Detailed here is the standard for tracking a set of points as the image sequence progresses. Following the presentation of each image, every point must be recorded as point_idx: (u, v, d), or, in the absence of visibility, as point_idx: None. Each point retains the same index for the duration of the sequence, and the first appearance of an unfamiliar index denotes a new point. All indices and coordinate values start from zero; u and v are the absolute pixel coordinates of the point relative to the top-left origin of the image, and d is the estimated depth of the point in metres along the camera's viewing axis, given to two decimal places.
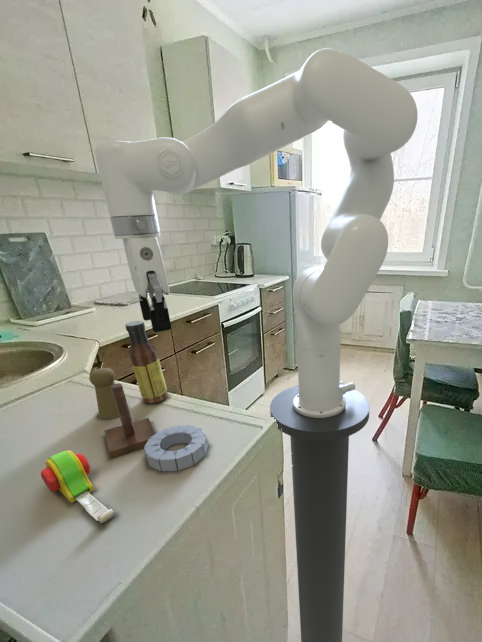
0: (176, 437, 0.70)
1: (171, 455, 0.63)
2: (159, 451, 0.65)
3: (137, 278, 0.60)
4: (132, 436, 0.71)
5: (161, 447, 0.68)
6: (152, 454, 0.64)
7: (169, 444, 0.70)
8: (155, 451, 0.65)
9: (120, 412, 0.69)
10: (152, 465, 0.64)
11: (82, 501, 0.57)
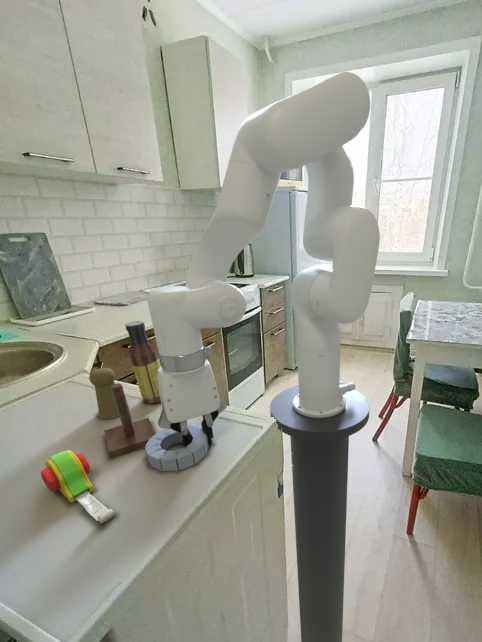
0: (177, 437, 0.71)
1: (172, 455, 0.63)
2: (160, 451, 0.65)
3: (214, 396, 0.66)
4: (132, 436, 0.71)
5: (162, 447, 0.68)
6: (153, 454, 0.64)
7: (170, 444, 0.70)
8: (156, 451, 0.65)
9: (120, 412, 0.69)
10: (153, 465, 0.64)
11: (82, 501, 0.57)
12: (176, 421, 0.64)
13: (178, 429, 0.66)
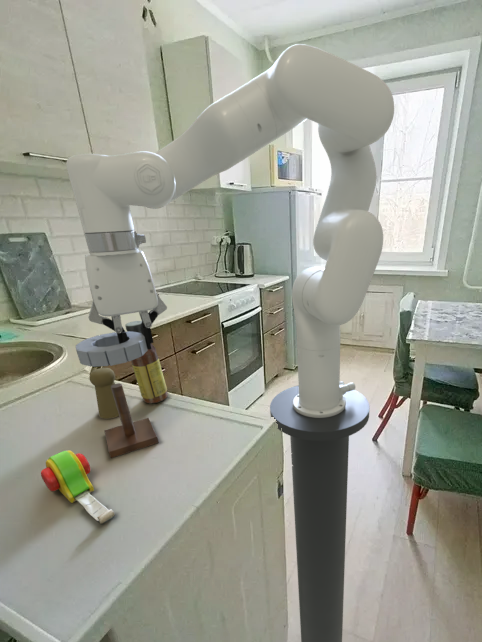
0: (114, 342, 0.66)
1: (102, 349, 0.59)
2: (90, 347, 0.60)
3: (150, 290, 0.61)
4: (132, 436, 0.71)
5: None
6: (82, 349, 0.59)
7: None
8: (86, 347, 0.60)
9: (120, 412, 0.69)
10: (82, 361, 0.60)
11: (82, 501, 0.57)
12: (107, 314, 0.59)
13: (111, 326, 0.61)
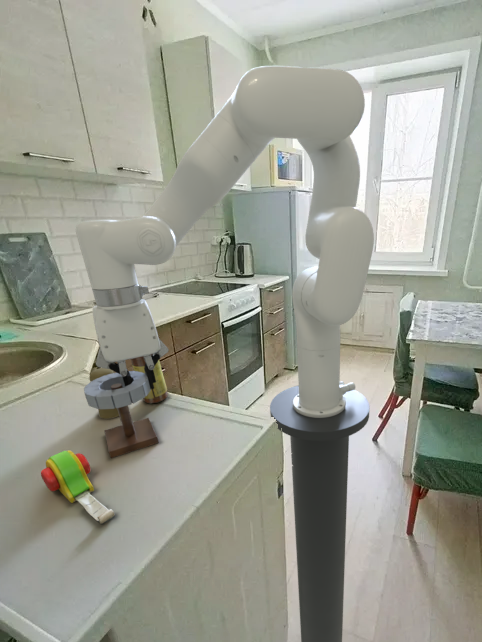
0: (120, 382, 0.71)
1: (108, 393, 0.64)
2: (98, 390, 0.65)
3: (152, 336, 0.66)
4: (132, 436, 0.71)
5: (103, 389, 0.68)
6: (90, 392, 0.64)
7: None
8: (94, 390, 0.65)
9: (120, 412, 0.69)
10: (90, 404, 0.64)
11: (82, 501, 0.57)
12: (113, 360, 0.64)
13: (117, 370, 0.66)
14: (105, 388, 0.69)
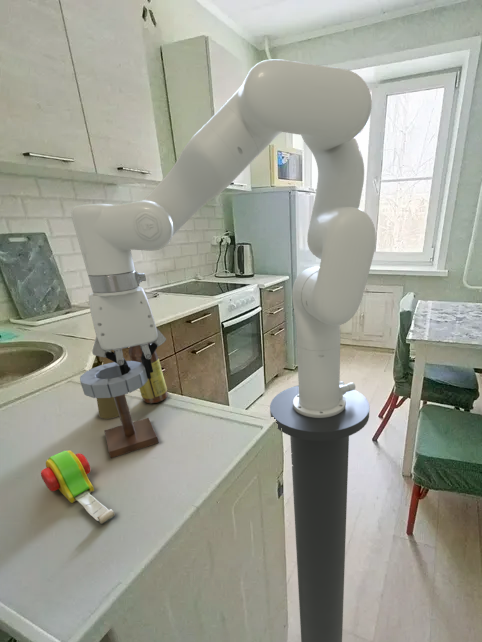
0: (116, 371, 0.70)
1: (105, 382, 0.63)
2: (94, 379, 0.64)
3: (149, 325, 0.65)
4: (132, 436, 0.71)
5: (99, 378, 0.67)
6: (86, 381, 0.63)
7: (109, 378, 0.69)
8: (90, 379, 0.64)
9: (120, 412, 0.69)
10: (86, 393, 0.63)
11: (82, 501, 0.57)
12: (109, 348, 0.63)
13: (114, 358, 0.65)
14: (101, 377, 0.68)
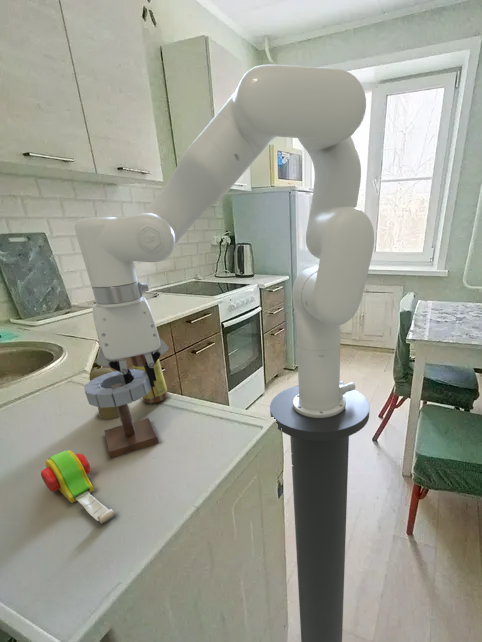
0: (120, 380, 0.71)
1: (109, 391, 0.63)
2: (98, 388, 0.65)
3: (152, 334, 0.66)
4: (132, 436, 0.71)
5: (103, 387, 0.68)
6: (90, 391, 0.64)
7: None
8: (94, 388, 0.65)
9: (120, 412, 0.69)
10: (91, 402, 0.64)
11: (82, 501, 0.57)
12: (113, 358, 0.64)
13: (117, 368, 0.66)
14: (106, 386, 0.69)
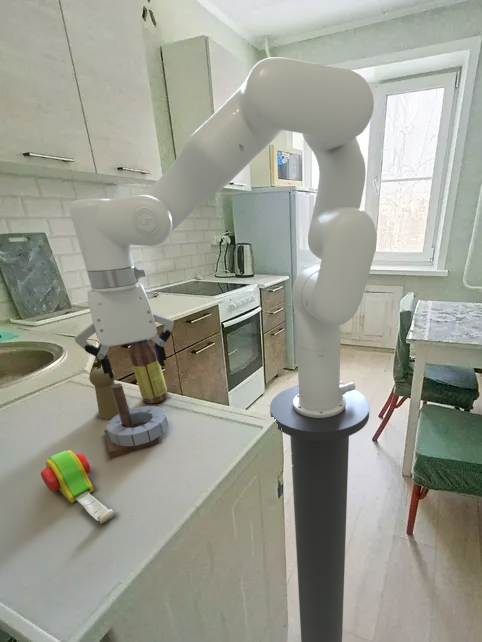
0: (140, 416, 0.76)
1: (129, 431, 0.68)
2: (119, 427, 0.70)
3: (149, 321, 0.65)
4: None
5: None
6: (112, 430, 0.69)
7: (133, 422, 0.75)
8: (116, 427, 0.70)
9: (120, 412, 0.69)
10: (112, 440, 0.69)
11: (82, 501, 0.57)
12: (108, 344, 0.63)
13: (94, 352, 0.63)
14: None
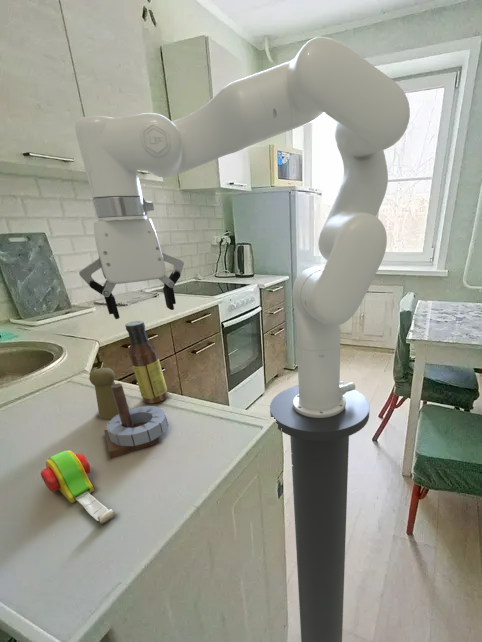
0: (140, 416, 0.76)
1: (129, 431, 0.68)
2: (119, 427, 0.70)
3: (157, 258, 0.62)
4: None
5: None
6: (112, 430, 0.69)
7: (133, 422, 0.75)
8: (116, 427, 0.70)
9: (120, 412, 0.69)
10: (112, 440, 0.69)
11: (82, 501, 0.57)
12: (115, 281, 0.60)
13: (99, 289, 0.60)
14: None
